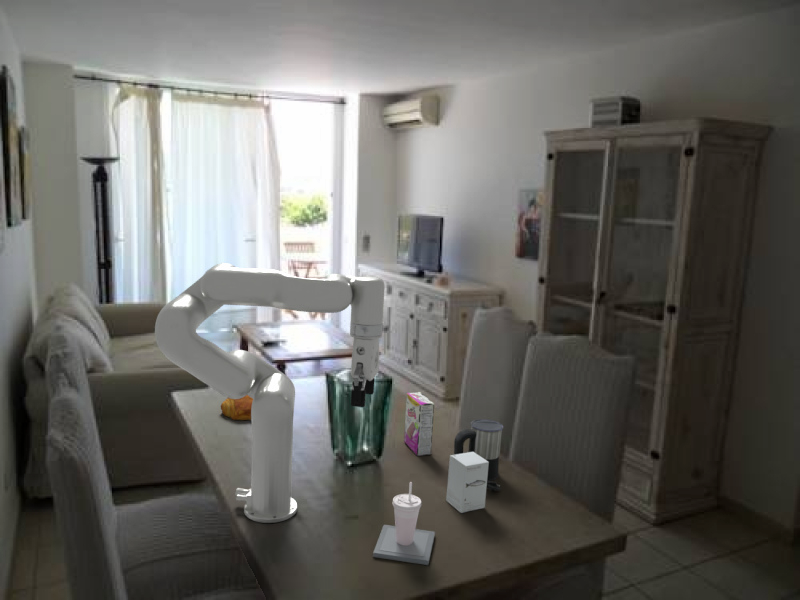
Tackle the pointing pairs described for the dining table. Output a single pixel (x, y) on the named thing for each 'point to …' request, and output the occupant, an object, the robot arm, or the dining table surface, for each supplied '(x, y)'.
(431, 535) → the plate
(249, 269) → the robot arm
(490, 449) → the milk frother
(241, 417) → the croissant
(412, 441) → the candy bar box
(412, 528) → the smoothie
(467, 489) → the supplement box
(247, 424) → the dining table surface
